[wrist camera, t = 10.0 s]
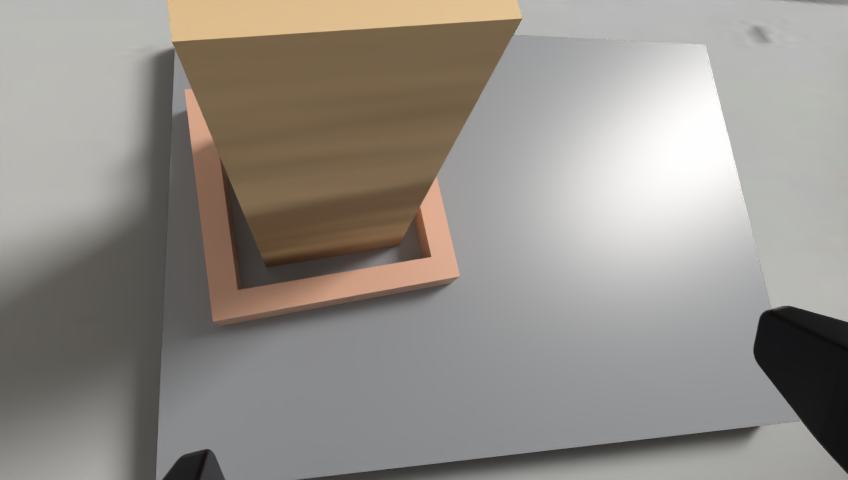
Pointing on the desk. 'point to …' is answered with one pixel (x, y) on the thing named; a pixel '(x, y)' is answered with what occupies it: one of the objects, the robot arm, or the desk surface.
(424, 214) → the socket collar
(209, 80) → the oak pillar
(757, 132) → the desk surface
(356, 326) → the baseplate
